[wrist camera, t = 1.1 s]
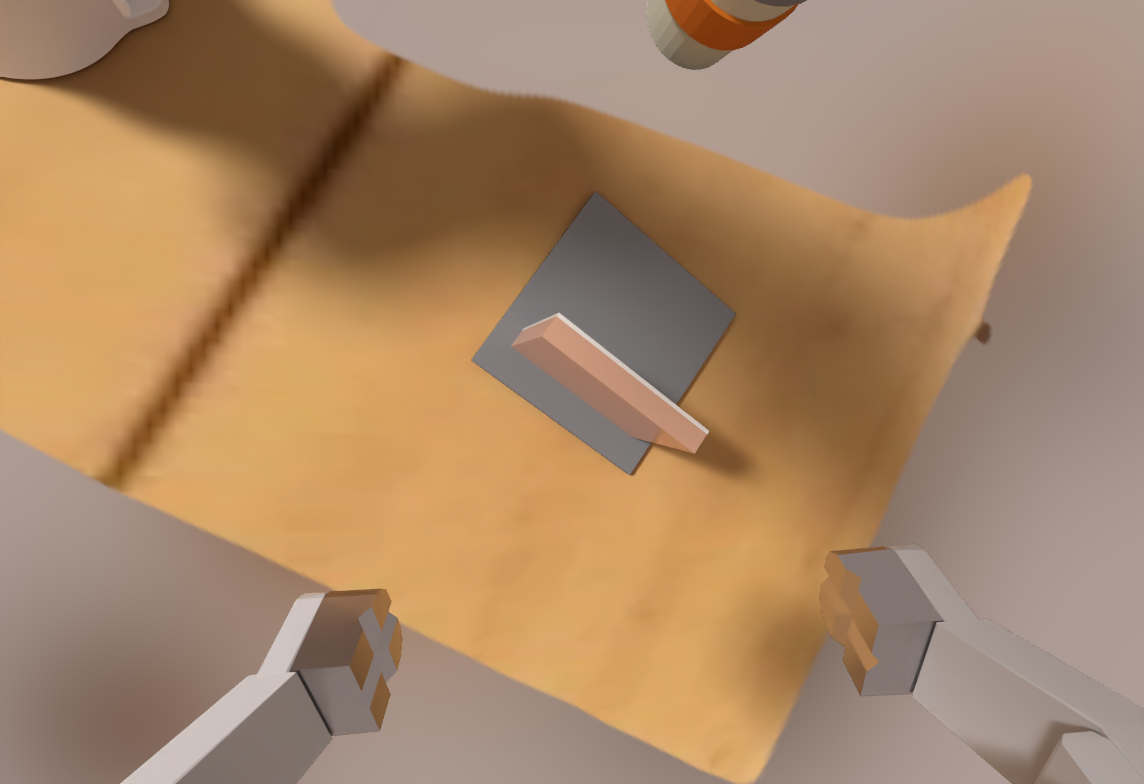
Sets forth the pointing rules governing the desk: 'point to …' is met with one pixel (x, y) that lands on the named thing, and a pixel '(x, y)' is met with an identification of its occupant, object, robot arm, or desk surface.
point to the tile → (607, 384)
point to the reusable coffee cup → (711, 27)
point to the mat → (609, 322)
